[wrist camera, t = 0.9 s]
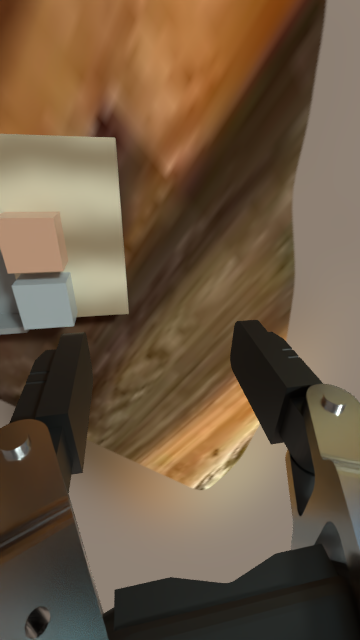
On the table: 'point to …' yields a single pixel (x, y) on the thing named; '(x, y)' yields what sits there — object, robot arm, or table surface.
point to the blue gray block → (45, 300)
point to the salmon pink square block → (32, 242)
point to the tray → (8, 303)
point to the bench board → (73, 209)
